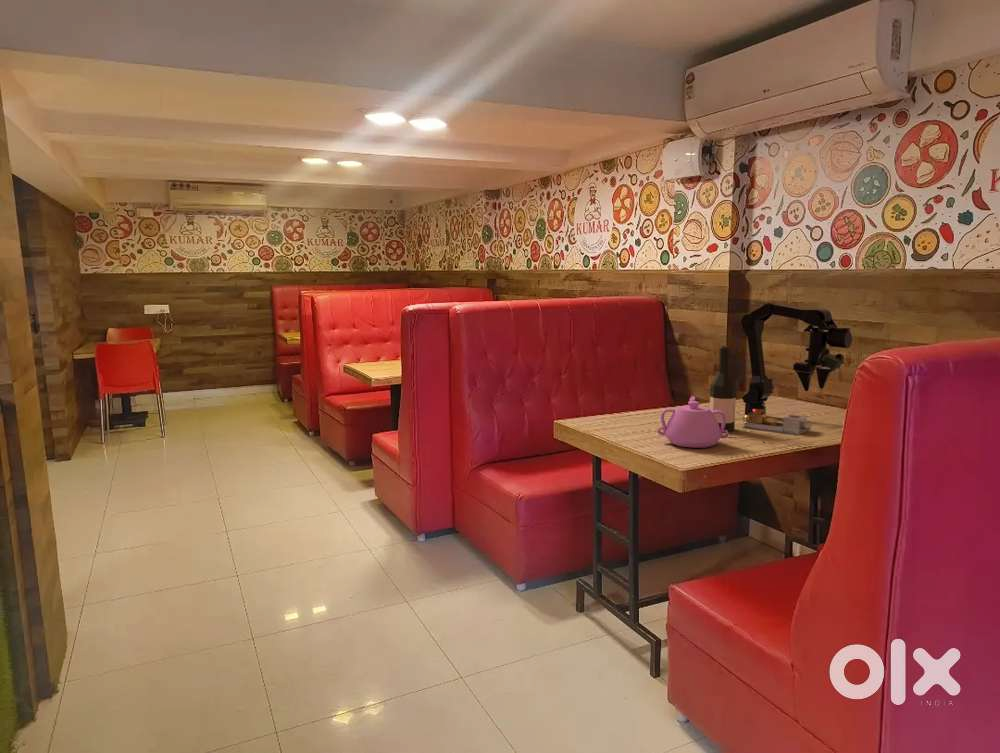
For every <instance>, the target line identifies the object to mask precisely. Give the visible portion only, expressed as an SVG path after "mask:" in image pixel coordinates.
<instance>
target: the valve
mask: <svg viewBox="0 0 1000 753" xmlns="http://www.w3.org/2000/svg"><path fill="white" fill-rule="evenodd" d="M752 411H753V412H751V413H749V415H745V413H744V414H743V416H742V422H743V423H745V422H749V423H756V424H764V425H772V426H776V425H777V422H778V419H777V418H775V417H767V415H768V414H767V412H766V413H761V412H763V409H752Z"/></svg>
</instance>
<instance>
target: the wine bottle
mask: <svg viewBox="0 0 1000 753" xmlns="http://www.w3.org/2000/svg"><path fill="white" fill-rule="evenodd" d="M718 357H719V358H718V361H719V362H718V373H717V374H716V376H715V377H714V379H713V380H712V381H711V383H710V392H709V409H710V410H711V411H714V410H720V411H722V412H724V413H725V415H726V418H727V419H726V424H725V427H724V430H727V431H728V432H729V433H733V432H735V422H736V400H737V398H736V397H737V384H736V382H735V380H734V379H733V377H732V375H731V373H730V362H731V348H730V346H729V345H721V346H720V347H719V356H718ZM714 416H715V418H716V420H717V422H718V424H719V427H720V428H721V425H722V422H723V416H722V415H721V414H714Z"/></svg>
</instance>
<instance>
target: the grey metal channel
mask: <svg viewBox="0 0 1000 753" xmlns="http://www.w3.org/2000/svg"><path fill="white" fill-rule="evenodd" d="M743 423H744V424H743V425H744V426H742V427H741V428H740V429H746V430H752V431H759V432H760V431H761V432H767V433H775V434H780V435H781V434H782V435H789V436H797V437H798V436H800V435H802V434H804V433H805V432H807V431H811V429H812V423H811V422H808V416H807V415H799V414H790V413H789V414H788V416H784V417H783V418H782V422H780V421H777V425H776V426H772V425H764V424H756V423H749V422H743Z"/></svg>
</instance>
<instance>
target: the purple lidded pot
mask: <svg viewBox="0 0 1000 753" xmlns="http://www.w3.org/2000/svg"><path fill="white" fill-rule="evenodd" d="M687 403H688V405H680V406H678V407H676V409H673V408H666V409H664V410H663V411H661V414H660V421H661V425H662V426H659V427H658V428H657V435H659V436H665V437H666V439H668V441H669V442H670V443H671V444H672V445H676V446H678V447H680V448H681V447H683V448H685V447H686V448H700V449H701V448H703V449H706V448H709V447H713V446H715V445H716V444H717V443H718V441H720V439H723V440H724V439H726V438H728V437H729V433H730V432H728V431H727V430H724V427H725V424H726V419H727V418H726V415H725V413H724V412H722V411H720V410H714V411H711V410H710V407H706V406H700V402H699V401H696V397H695V396H694V395H691V396H690V397H689V401H688V402H687ZM666 413H672V414H671V416H670V417H669V419H668V421H667V422H666V420H665V414H666ZM714 414H721V415H722V416H723V422H722V425H721V428H720V427H719V424H718V422H717V420H716V418H715V416H714ZM661 430H663V432H662V431H661ZM724 433H725V434H724Z"/></svg>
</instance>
